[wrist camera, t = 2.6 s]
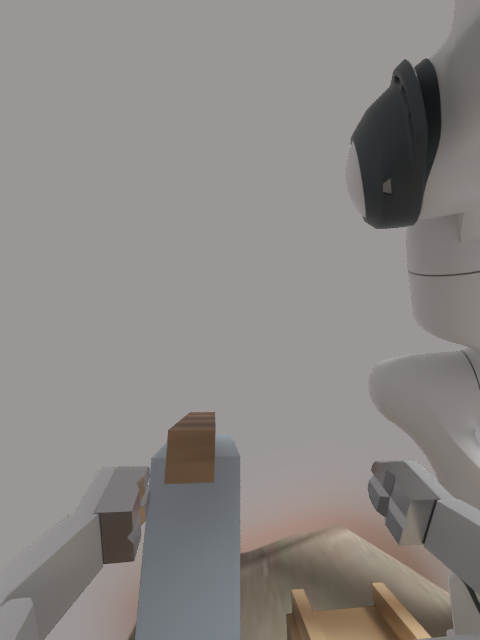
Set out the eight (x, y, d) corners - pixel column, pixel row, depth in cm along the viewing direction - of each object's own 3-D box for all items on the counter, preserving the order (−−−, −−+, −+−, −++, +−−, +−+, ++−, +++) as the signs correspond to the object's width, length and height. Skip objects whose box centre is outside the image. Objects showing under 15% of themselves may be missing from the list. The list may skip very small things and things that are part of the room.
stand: (160, 631, 36) (173, 435, 43) (229, 625, 36) (231, 434, 44) (119, 811, 20) (151, 458, 28) (240, 792, 21) (240, 456, 29)
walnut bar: (188, 439, 39) (190, 412, 40) (214, 438, 39) (214, 412, 40) (164, 484, 20) (168, 430, 21) (214, 482, 20) (215, 429, 21)
